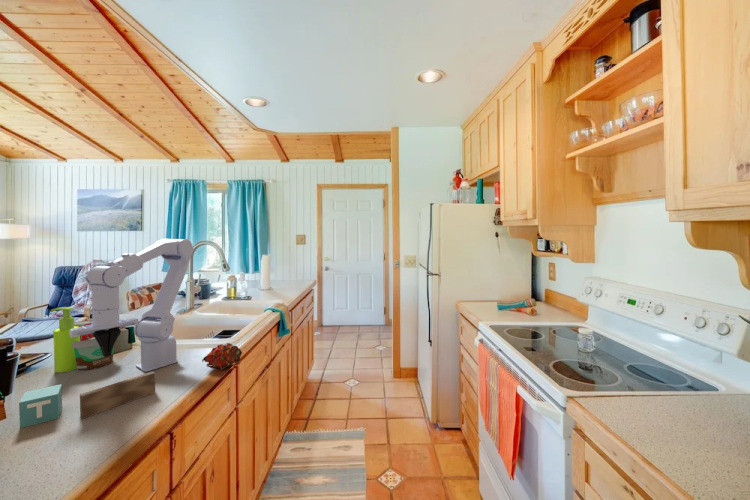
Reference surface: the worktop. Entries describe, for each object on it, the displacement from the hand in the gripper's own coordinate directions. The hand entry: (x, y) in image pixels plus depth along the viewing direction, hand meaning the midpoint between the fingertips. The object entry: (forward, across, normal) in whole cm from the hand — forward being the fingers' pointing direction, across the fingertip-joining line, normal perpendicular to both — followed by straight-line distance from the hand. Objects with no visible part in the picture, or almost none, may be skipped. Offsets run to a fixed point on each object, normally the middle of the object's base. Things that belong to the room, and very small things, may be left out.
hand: (106, 355), depth 85 cm
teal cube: (+10, +14, +5) cm, 17 cm away
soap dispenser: (+10, +3, -26) cm, 28 cm away
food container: (+10, -4, -20) cm, 23 cm away
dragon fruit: (+10, -26, +14) cm, 31 cm away
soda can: (+10, -3, -36) cm, 37 cm away
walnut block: (+9, +1, +13) cm, 16 cm away
